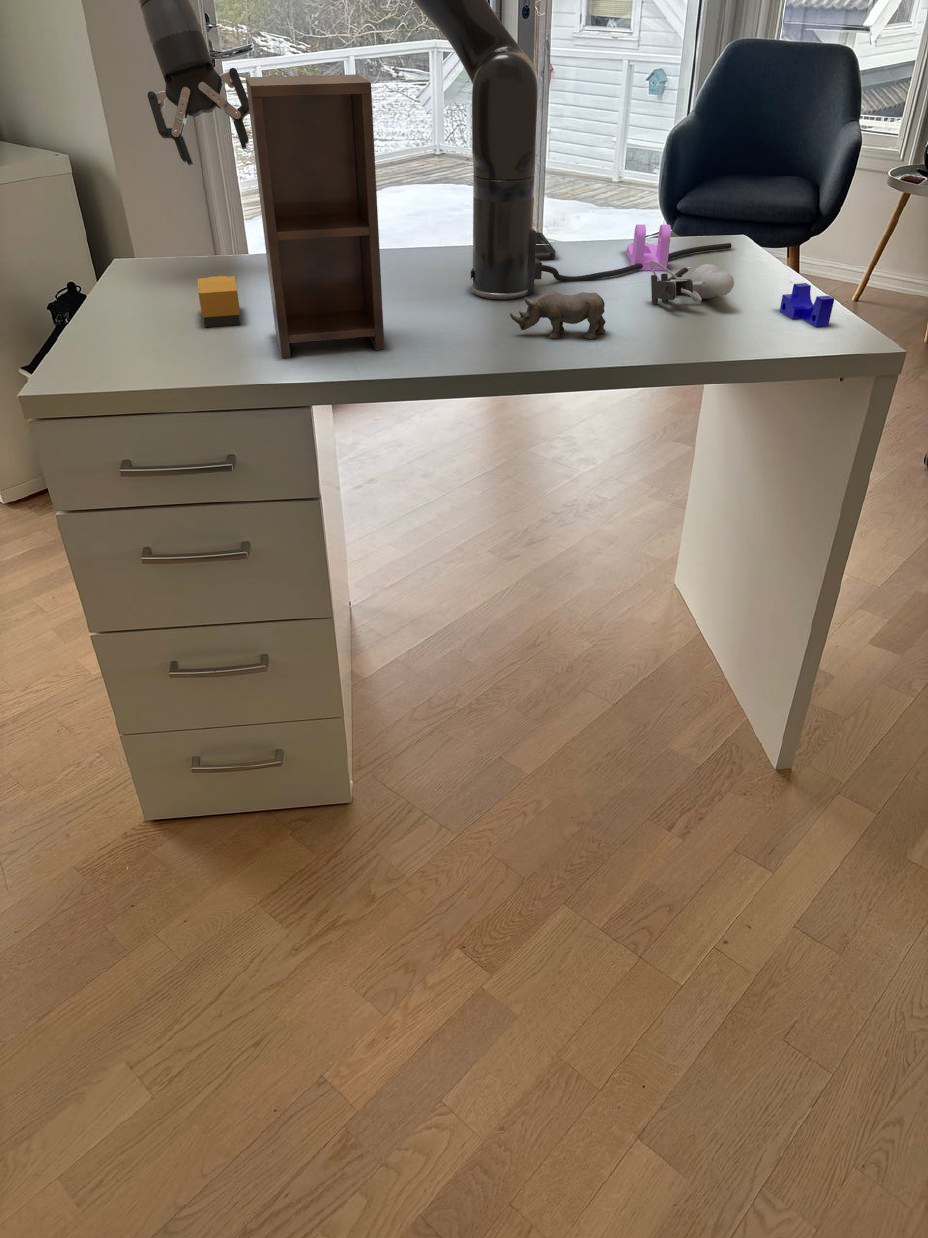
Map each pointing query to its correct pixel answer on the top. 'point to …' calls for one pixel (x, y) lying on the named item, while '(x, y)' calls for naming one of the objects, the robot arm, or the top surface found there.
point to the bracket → (649, 248)
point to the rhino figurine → (564, 312)
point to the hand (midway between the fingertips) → (217, 156)
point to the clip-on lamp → (691, 283)
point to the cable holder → (807, 306)
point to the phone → (543, 248)
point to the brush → (219, 301)
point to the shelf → (318, 205)
